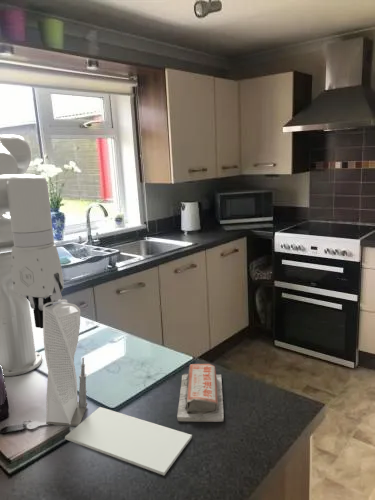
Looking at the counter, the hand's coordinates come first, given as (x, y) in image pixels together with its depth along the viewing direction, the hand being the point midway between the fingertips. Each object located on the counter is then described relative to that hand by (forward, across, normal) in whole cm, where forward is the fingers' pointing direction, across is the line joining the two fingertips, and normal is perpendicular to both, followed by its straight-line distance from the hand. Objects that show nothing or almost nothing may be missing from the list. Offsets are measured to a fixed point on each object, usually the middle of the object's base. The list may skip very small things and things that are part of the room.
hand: (44, 325), depth 86 cm
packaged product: (+22, +26, +20) cm, 39 cm away
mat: (+22, +19, +1) cm, 29 cm away
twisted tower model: (+21, +2, 0) cm, 21 cm away
